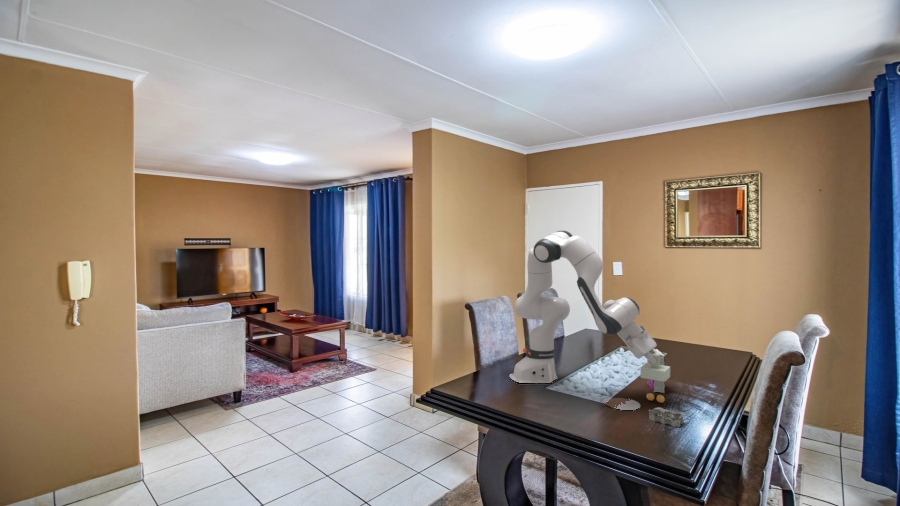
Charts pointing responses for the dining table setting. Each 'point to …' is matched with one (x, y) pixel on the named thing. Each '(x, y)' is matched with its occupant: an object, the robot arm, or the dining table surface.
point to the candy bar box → (654, 384)
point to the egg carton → (666, 416)
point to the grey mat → (628, 406)
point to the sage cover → (655, 370)
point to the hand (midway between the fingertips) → (657, 361)
